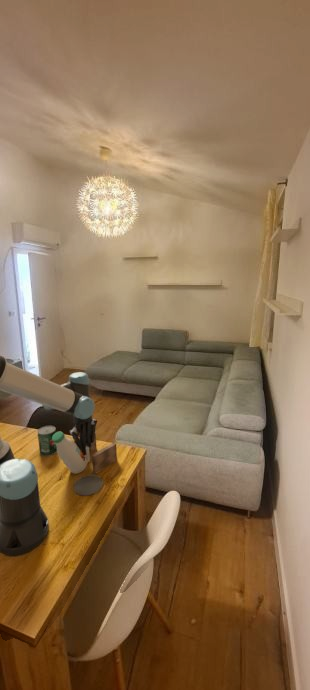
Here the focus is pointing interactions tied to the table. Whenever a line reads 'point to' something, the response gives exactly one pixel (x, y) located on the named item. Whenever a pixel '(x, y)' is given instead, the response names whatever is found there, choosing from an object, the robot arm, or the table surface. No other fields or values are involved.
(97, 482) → the coaster
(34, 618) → the table surface
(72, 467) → the milk bottle
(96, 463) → the bookends
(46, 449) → the canned tomato
